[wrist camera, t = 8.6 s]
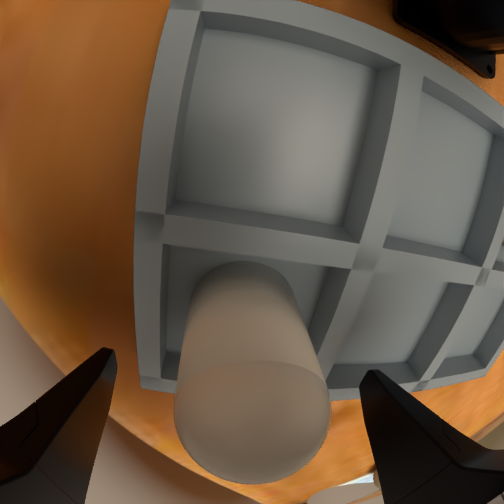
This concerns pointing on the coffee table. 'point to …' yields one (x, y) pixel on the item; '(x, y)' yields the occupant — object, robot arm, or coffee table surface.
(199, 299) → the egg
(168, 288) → the grey compartment tray
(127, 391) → the coffee table surface
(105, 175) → the coffee table surface
